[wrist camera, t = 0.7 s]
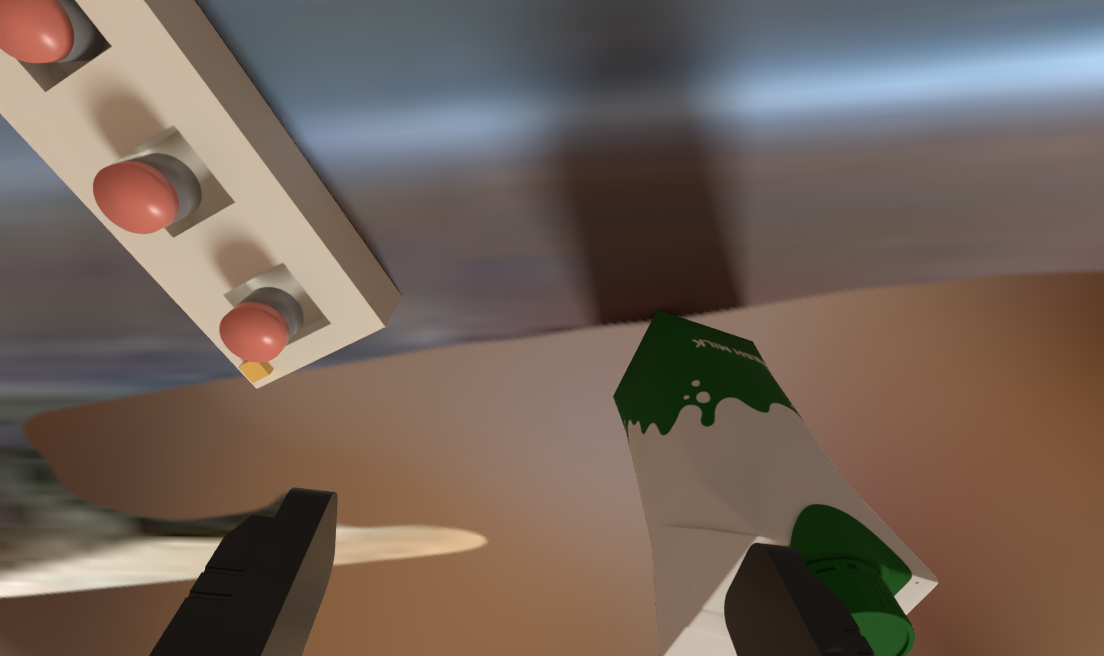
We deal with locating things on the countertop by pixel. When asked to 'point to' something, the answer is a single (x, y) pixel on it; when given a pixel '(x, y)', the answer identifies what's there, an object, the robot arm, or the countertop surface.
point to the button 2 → (147, 192)
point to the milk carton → (747, 492)
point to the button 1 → (48, 31)
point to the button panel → (203, 176)
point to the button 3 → (261, 324)
